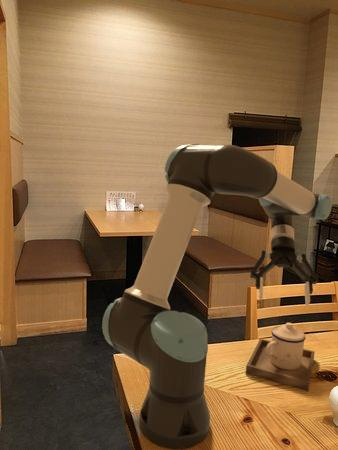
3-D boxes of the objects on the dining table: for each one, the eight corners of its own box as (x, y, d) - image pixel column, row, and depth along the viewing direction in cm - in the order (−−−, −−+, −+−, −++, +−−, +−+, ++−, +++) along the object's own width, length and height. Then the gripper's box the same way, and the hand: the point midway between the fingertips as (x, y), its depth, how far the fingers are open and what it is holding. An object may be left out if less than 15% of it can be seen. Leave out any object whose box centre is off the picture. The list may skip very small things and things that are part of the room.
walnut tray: (245, 373, 102) (246, 365, 102) (259, 345, 118) (260, 338, 118) (308, 391, 96) (309, 382, 95) (313, 359, 112) (314, 351, 111)
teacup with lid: (285, 351, 113) (289, 315, 111) (309, 367, 105) (314, 327, 103) (254, 359, 108) (257, 321, 106) (276, 376, 100) (281, 335, 98)
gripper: (319, 250, 126) (324, 310, 114) (243, 244, 130) (240, 301, 118) (325, 238, 120) (331, 300, 108) (245, 232, 124) (242, 291, 112)
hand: (284, 301), depth 113 cm, fingers open, 13 cm apart
